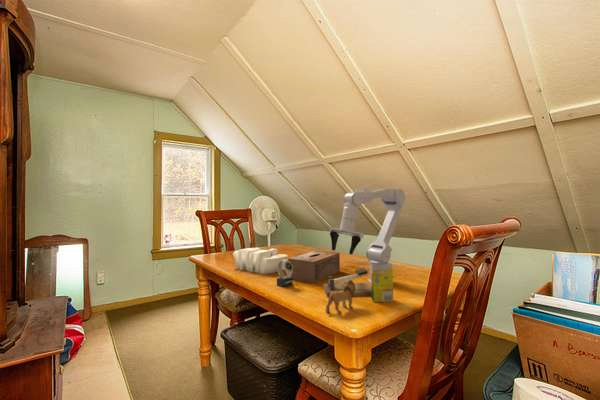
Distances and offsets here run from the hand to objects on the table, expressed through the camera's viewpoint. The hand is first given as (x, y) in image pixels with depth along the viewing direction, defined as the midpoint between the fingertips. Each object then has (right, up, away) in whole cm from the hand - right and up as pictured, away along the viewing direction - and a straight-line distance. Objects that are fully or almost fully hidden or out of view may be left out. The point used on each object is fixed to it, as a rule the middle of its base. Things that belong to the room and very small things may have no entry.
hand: (341, 252), depth 115 cm
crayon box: (+13, -16, -11) cm, 24 cm away
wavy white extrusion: (-40, -17, +41) cm, 60 cm away
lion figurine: (-3, -16, -19) cm, 25 cm away
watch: (-24, -17, +10) cm, 31 cm away
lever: (+2, -13, 0) cm, 13 cm away
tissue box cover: (-9, -17, +26) cm, 33 cm away
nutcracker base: (+3, -16, 0) cm, 16 cm away
